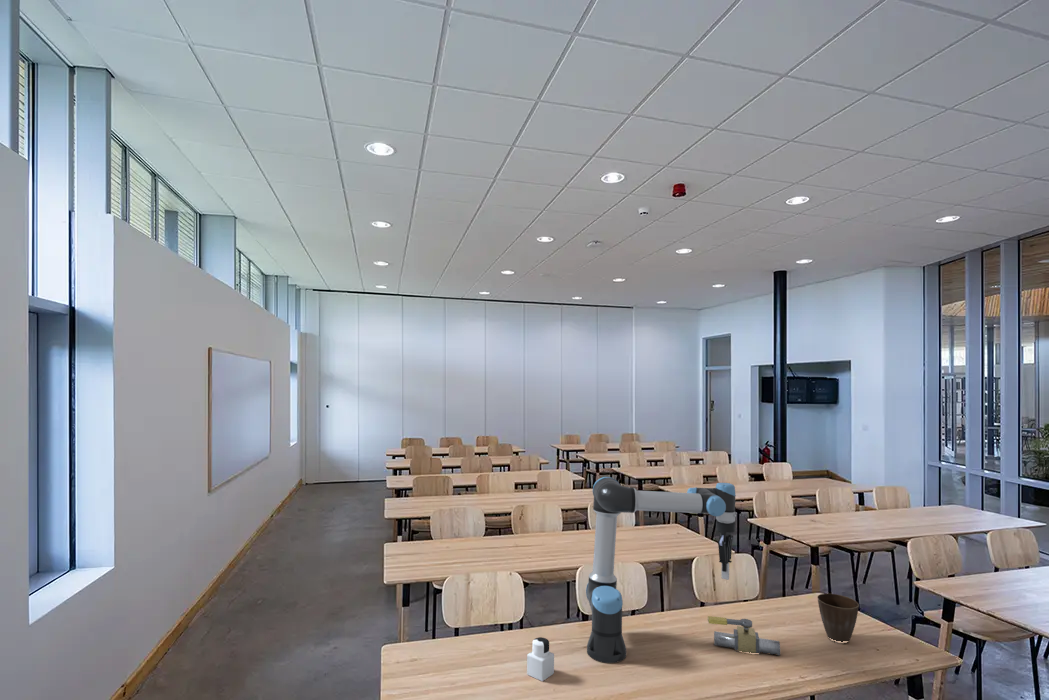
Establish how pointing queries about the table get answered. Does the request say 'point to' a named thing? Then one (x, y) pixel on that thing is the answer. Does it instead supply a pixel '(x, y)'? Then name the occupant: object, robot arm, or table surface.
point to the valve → (746, 641)
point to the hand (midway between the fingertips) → (725, 578)
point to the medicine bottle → (540, 660)
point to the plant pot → (838, 615)
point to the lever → (729, 621)
